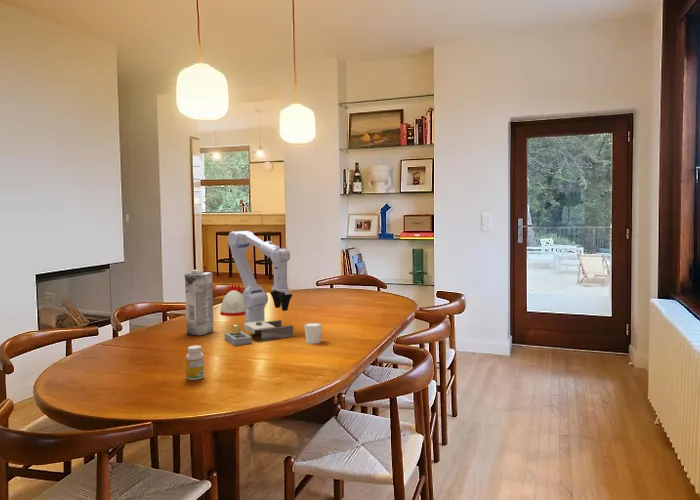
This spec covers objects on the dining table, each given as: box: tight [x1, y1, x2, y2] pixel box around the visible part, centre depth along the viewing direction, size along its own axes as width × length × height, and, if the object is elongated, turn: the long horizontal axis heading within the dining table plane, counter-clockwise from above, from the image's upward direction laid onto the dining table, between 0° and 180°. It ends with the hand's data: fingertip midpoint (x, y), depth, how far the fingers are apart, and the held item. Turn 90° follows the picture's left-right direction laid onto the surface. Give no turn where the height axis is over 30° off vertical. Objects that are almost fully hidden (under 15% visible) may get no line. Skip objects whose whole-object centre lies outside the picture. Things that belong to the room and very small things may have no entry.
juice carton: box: [184, 269, 214, 336], centre depth 220 cm, size 9×10×27 cm
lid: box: [242, 321, 275, 335], centre depth 213 cm, size 13×9×3 cm
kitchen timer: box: [219, 283, 247, 317], centre depth 262 cm, size 14×14×15 cm
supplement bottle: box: [185, 344, 205, 381], centre depth 162 cm, size 5×5×10 cm
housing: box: [250, 319, 294, 342], centre depth 216 cm, size 13×14×4 cm
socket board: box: [224, 330, 253, 347], centre depth 207 cm, size 12×7×2 cm, turn 31°
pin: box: [231, 323, 241, 335], centre depth 209 cm, size 3×3×6 cm
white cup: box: [303, 322, 323, 345], centre depth 205 cm, size 7×7×7 cm
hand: (281, 309), depth 221 cm, fingers open, 7 cm apart
